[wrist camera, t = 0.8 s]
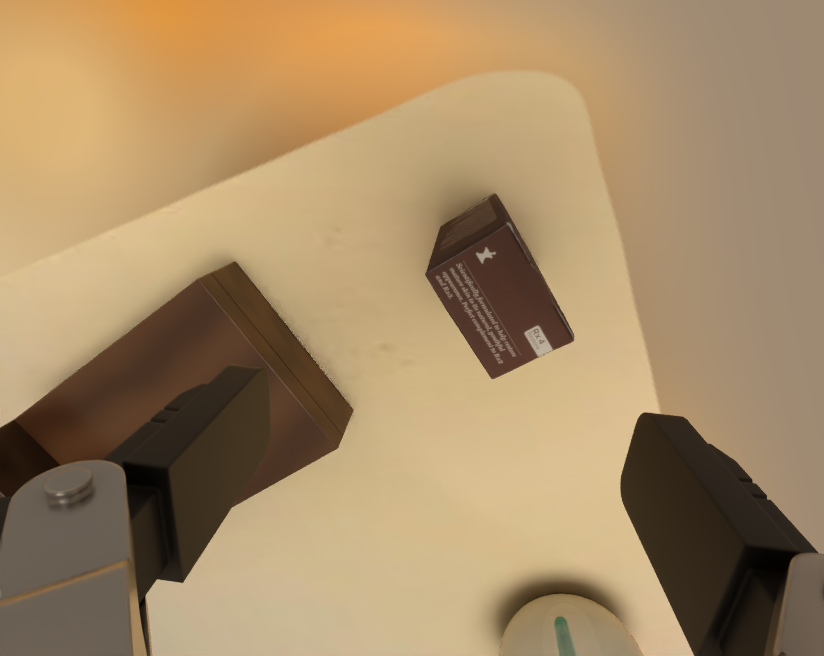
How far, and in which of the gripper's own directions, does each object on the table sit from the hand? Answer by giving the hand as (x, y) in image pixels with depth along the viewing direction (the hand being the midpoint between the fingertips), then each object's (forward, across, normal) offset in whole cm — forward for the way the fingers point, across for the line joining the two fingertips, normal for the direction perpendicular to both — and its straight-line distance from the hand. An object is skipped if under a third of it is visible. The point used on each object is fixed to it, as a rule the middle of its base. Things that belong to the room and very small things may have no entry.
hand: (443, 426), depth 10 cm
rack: (+22, +18, +14) cm, 32 cm away
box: (+22, -2, 0) cm, 22 cm away
